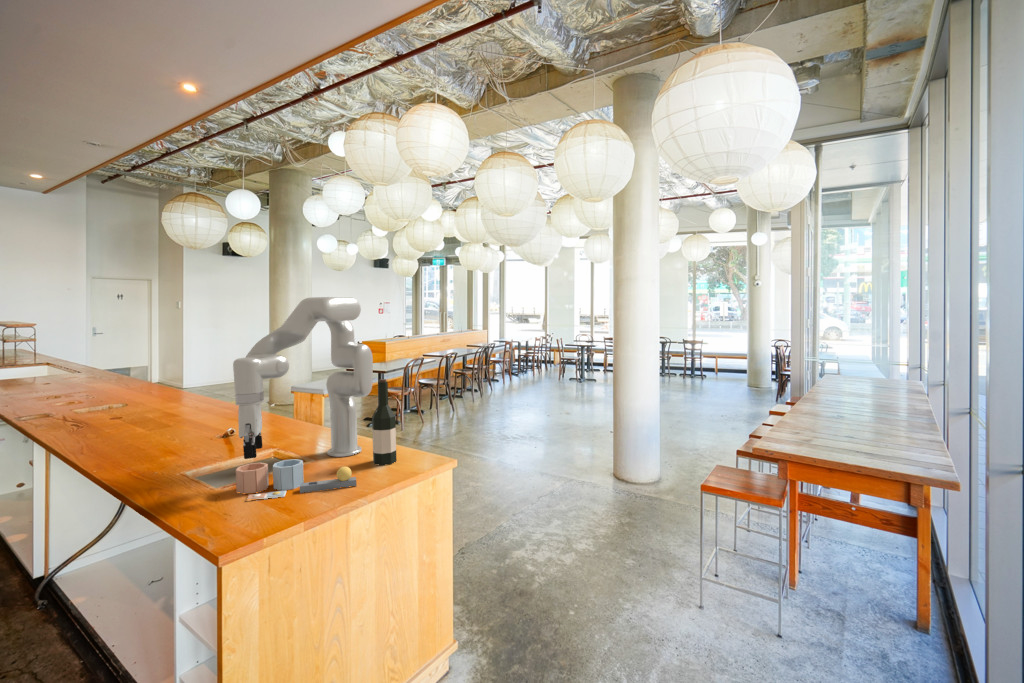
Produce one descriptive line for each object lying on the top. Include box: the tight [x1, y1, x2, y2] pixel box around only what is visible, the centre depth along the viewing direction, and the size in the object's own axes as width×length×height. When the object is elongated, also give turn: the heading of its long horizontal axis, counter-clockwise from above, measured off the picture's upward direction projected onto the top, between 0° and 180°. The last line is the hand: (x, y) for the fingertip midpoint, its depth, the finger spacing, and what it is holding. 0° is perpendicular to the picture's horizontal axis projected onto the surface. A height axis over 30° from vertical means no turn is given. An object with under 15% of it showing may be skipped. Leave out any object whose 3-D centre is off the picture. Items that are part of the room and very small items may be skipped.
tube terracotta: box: [235, 462, 270, 494], centre depth 142 cm, size 8×8×7 cm
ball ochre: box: [336, 466, 352, 481], centre depth 144 cm, size 4×4×4 cm
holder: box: [299, 476, 357, 494], centre depth 143 cm, size 3×16×2 cm, turn 109°
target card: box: [246, 490, 287, 500], centre depth 137 cm, size 4×10×1 cm, turn 109°
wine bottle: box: [371, 378, 397, 466], centre depth 168 cm, size 8×8×30 cm
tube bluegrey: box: [272, 458, 305, 491], centre depth 146 cm, size 8×8×7 cm
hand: (253, 453), depth 143 cm, fingers open, 9 cm apart
